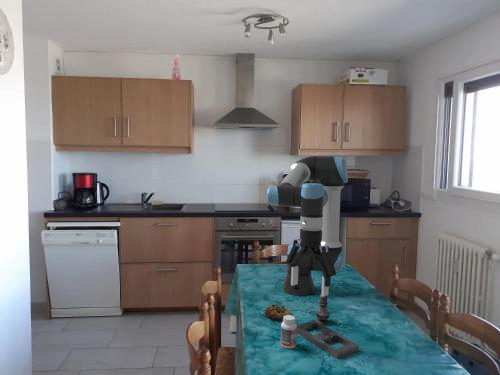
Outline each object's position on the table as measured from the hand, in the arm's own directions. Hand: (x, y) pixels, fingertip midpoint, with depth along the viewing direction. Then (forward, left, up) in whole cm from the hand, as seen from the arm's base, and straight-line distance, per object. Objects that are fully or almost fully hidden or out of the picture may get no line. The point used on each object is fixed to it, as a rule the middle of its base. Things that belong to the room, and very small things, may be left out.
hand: (309, 289), depth 130 cm
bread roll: (-23, +4, -19) cm, 30 cm away
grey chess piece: (-10, +16, -19) cm, 27 cm away
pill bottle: (-2, -7, -19) cm, 20 cm away
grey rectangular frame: (+2, +6, -19) cm, 20 cm away
